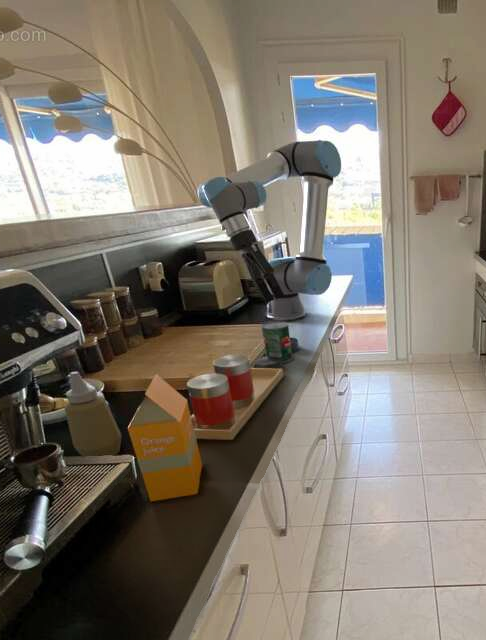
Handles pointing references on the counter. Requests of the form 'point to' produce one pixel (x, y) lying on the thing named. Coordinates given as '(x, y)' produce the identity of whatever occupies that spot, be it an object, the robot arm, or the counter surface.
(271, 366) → the grey tin
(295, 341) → the grey tin
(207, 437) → the tray
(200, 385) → the label can
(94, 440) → the squeeze bottle
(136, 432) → the orange juice
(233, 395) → the can label
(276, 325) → the canned tomato
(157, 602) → the counter surface
